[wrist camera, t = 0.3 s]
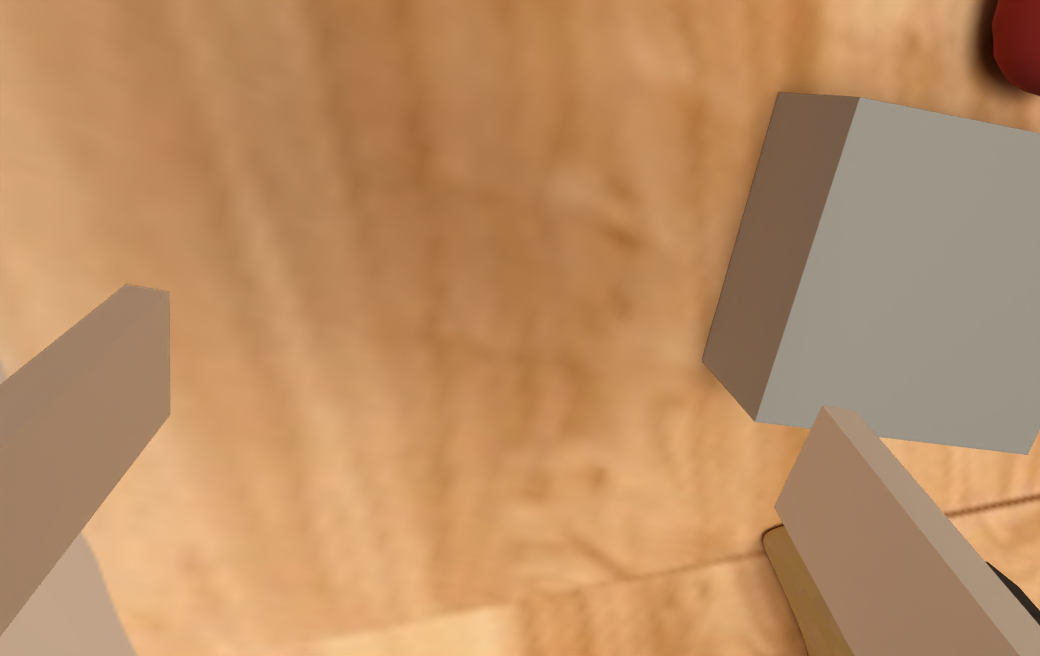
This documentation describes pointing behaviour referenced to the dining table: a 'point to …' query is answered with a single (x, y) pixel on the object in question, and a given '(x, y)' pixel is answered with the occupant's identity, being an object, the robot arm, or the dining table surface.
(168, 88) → the dining table surface
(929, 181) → the slate block
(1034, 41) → the tomato
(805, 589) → the cheese
